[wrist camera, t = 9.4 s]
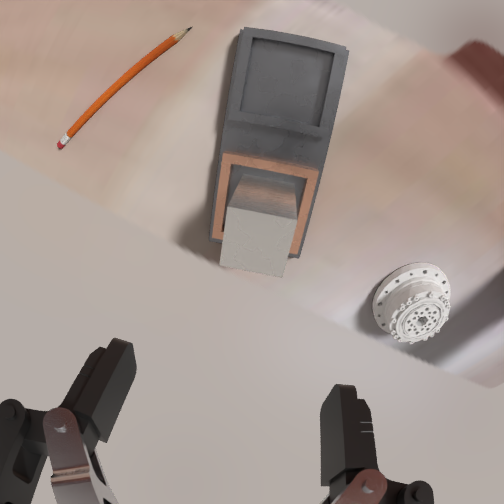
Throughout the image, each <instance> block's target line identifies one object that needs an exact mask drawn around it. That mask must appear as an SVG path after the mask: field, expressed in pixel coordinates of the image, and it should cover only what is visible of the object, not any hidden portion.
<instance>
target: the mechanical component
mask: <svg viewBox="0 0 504 504" xmlns="http://www.w3.org/2000/svg"><path fill="white" fill-rule="evenodd" d="M450 292H451V289H450V284H449V281H448V279H447V277H446V276H445V274H444V273H443V271H442V270H440V269H439V268H438V267H437V266H435V265H432V264H430V263H413V264H409V265H406V266H404V267H401V268H399V269H398V270H396V271H394V272H393V273H392V274H391V275H389V276H388V277H387V278H386V279H385V280H384V281H383V282H382V283H381V285H380V286H379V287H378V289H377V291H376V293H375V295H374V299H373V309H372V310H373V314H374V318H375V320H376V322H377V324H378V326H379V327H380V328H381V329H383V330H384V331H385V332H387V333H390V334H392V335H393V338H394V339H397V340H398V342H409V343H410V344H413V343H414V342H418V341H420V340H424V341H426V340H427V339H428V337H429V336H430V337H433V336H434V333H435V332H436V333H438V332H439V331H440V328H441V327H442V325H443V324H444V323H445V321H447V320H448V315H449V311H450V303H449V299H450Z"/></svg>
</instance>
